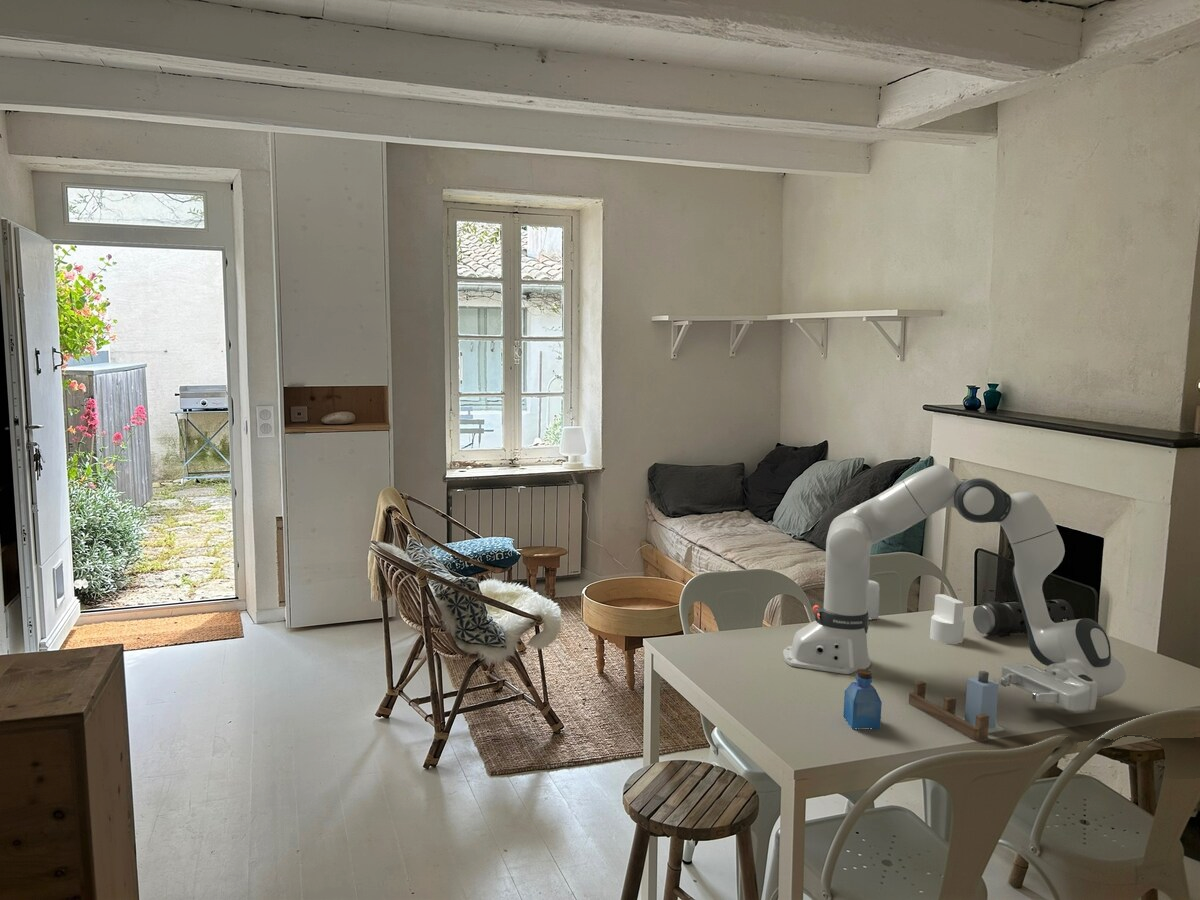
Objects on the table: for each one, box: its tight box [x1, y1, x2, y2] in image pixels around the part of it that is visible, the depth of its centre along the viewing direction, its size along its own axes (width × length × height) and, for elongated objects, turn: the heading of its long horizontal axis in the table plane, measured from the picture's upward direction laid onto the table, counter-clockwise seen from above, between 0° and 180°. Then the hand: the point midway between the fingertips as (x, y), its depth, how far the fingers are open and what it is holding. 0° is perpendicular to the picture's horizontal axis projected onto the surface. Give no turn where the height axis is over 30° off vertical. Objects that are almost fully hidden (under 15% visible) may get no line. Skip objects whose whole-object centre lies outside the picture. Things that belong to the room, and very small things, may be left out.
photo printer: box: [867, 579, 881, 621], centre depth 271 cm, size 10×4×12 cm, turn 96°
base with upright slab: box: [929, 593, 965, 645], centre depth 254 cm, size 9×9×12 cm
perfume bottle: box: [842, 668, 883, 730], centre depth 196 cm, size 6×6×12 cm
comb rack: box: [908, 680, 1005, 741], centre depth 200 cm, size 10×21×5 cm, turn 21°
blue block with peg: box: [963, 670, 1000, 729], centre depth 195 cm, size 4×4×12 cm
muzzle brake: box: [972, 598, 1075, 638], centre depth 260 cm, size 10×28×10 cm, turn 104°
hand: (1017, 689), depth 199 cm, fingers open, 8 cm apart
